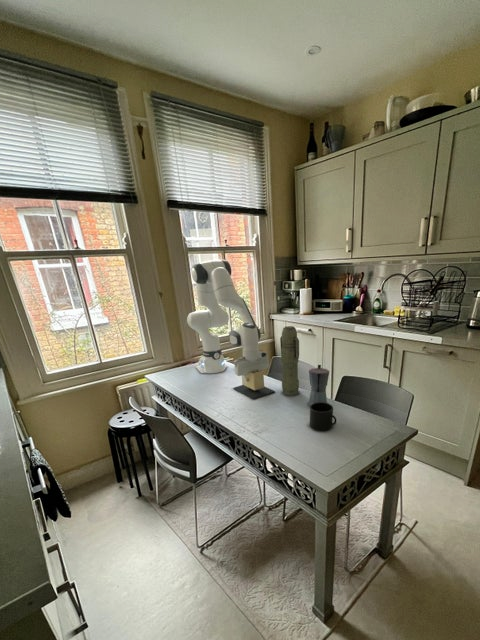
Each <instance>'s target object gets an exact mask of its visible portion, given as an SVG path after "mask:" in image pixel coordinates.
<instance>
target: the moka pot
mask: <svg viewBox="0 0 480 640" xmlns="http://www.w3.org/2000/svg"><path fill="white" fill-rule="evenodd" d="M329 376H330V370H329V369H327V368H323V367H322V365H321V364H317V367H313V368H311V369H309V370H308V377H309V385H310V393H309V401H308V405H309V406H311V405H312V404H314V403H320V402H322V403H328V398H327V386H328V382H329Z"/></svg>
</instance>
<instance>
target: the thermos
mask: <svg viewBox="0 0 480 640" xmlns="http://www.w3.org/2000/svg"><path fill="white" fill-rule="evenodd" d="M279 341H280V356H281V357H280V360H281V361H280V362H281V364H282V365H281V366H282V367H281V368H282V380H281V389H282V395H284V396H287V397H294V396H297V395H299V391H300V390H299V389H300V380H299V365H298V364H299V359H300V339H299V337H298V331H297V328H296V327H295V326H292V325H291V326H290V325H289V326H284V327H282V331H281V336H280V338H279Z"/></svg>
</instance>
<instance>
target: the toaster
mask: <svg viewBox="0 0 480 640" xmlns="http://www.w3.org/2000/svg"><path fill="white" fill-rule="evenodd" d="M246 377H247V378H248V379H249V381H248V382H245V378H244V377H243V376H241V382H242V384H241V385H245V386H247V387H249V388H251V389H253V390H257V389H261V388H264V387H265V378H264V377H265V374H264V371H263V370H262V371H260V370H256V371H252V372H249V374H247V376H246Z"/></svg>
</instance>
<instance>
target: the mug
mask: <svg viewBox="0 0 480 640" xmlns="http://www.w3.org/2000/svg"><path fill="white" fill-rule="evenodd" d="M309 406H310V405H309ZM333 421H334V422H333ZM337 422H338V421H337V417H336V416H335V415H334V406H333V405H332V404H330V403H328V402H327V403H322V402H320V403H314V404H312V405H311V406H310V407H309V427H310V428H311V429H312V430H314V431H317V432H327V431H329V430H331V429H332V428H333V426H334V425H336V424H337Z"/></svg>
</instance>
